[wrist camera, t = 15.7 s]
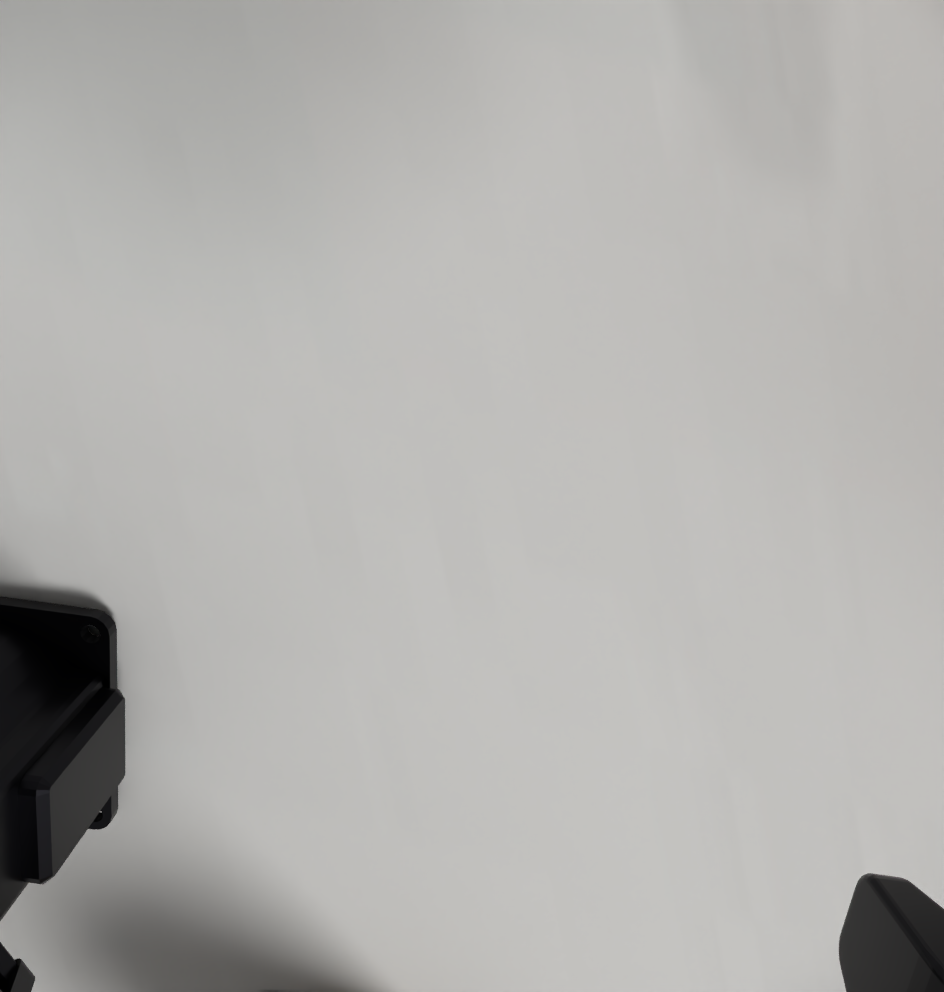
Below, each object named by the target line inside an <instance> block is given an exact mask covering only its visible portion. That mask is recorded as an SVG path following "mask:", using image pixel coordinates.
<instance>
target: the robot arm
mask: <svg viewBox="0 0 944 992" xmlns="http://www.w3.org/2000/svg"><path fill="white" fill-rule="evenodd" d="M88 625H91V626H94V627H96V628H97V629H98V630H99V633H100V636H96V635H93V634H92V633H91V632H90V631H89V629H88ZM124 776H125V698H124V697H123V695H122V693H121V692H120V690H118V689H117V629H116V625H115V622H114V621H113V619H112V618H111V616H109V615H108V614H107V613H105V612H103V611H100V610H96V609H89V608H81V607H74V606H66V605H59V604H51V603H44V602H36V601H29V600H22V599H14V598H7V597H0V921H1V919H2V918H3V917H4V915H5V914H6V913H7V911H8V910H9V909H10V907H11V906H12V904H13V903H14V902H15V900H16V899H17V898H18V896H19V895H20V894H21V892H22V891H23V890H24V888H25V887H26V885H27V884H28V883H37V884H44V883H46V882H47V881H48V880H50V879H51V878H52V877H54V876H55V874H56V873H57V872H58V870H59V869H60V867H61V866H62V865H63V863H64V862H65V860H66V859H67V857H68V856H69V855H70V853H71V852H72V850H73V849H74V848H75V846H76V845H77V843H78V842H79V840H80V839H81V838H82V836H83V835H84V833H85V832H86V830H87V829H102V828H105V827H107V825H108V824H109V823H110V822H111V821H112V819H113V818H114V816H115V815H116V813H117V809H118V785H119V784H120V782H121V781H122V779H123V778H124ZM100 811H102V813H100ZM839 960H840V965H841V970H842V974H843V979H844V983H845V988H846V992H944V909H943V908H942V907H941V906H939V905H938V904H937V903H936V902H934V901H933V900H932V899H931V898H929V897H928V896H927V895H926V894H925V893H923V892H922V891H921V890H920V889H918V888H917V887H916V886H915V885H913V884H912V883H911V882H909V881H908V880H906V879H903V878H900V877H893V876H886V875H878V874H871V873H869V874H866V875H863V876H862V877H861V878H860V879H859V880H858V883H857V885H856V887H855V890H854V894H853V897H852V900H851V903H850V906H849V909H848V913H847V916H846V919H845V922H844V925H843V928H842V932H841V935H840V940H839ZM34 981H35V976H34V975H33V974H32V972H31V971H30V970H29V969H28V967H27V966H26V965H25V964H24V962H23V961H22V960H21V959H20V958H19V959H15V960H14V959H13V957H12V956H11V955H10V954H9V952H8V951H7V950H6V949H5V947H4V946H3V945H2V944H1V942H0V992H31V990H32V987H33V984H34Z"/></svg>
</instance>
